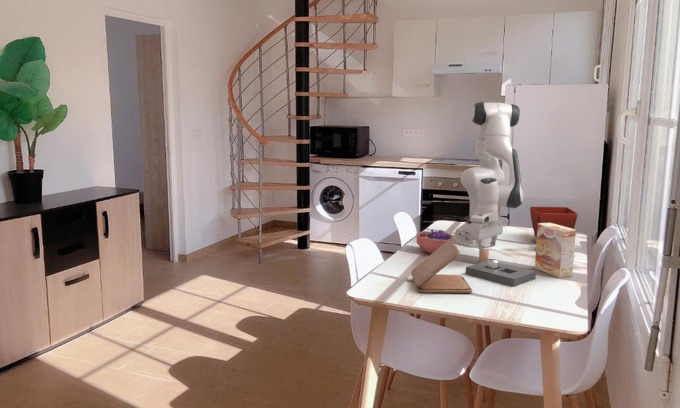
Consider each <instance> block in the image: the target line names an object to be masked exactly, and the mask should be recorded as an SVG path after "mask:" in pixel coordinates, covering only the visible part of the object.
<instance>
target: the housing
mask: <svg viewBox="0 0 680 408" xmlns="http://www.w3.org/2000/svg"><path fill="white" fill-rule="evenodd" d="M465 275H468V276H471V277H476V278H480V279H483V280H486V281H487V280H488V281H491V282H494V283H498V284H502V285H505V286H509V287H517V286H520V285H521V284H525V283H527V282H531V281H533V280H536V275H537V271H536V270H533V269H532V270H531V269H527V268H525V267H523V268H522V267H518V266H514V265H511V264H510V265H509V264H506V263H502V262H498V269H496V270H493V269H489V268H488V260H487V261H484V262H481V263H479V262H478V263H475V264H471V265H468V266H465Z"/></svg>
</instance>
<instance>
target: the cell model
mask: <svg viewBox="0 0 680 408" xmlns="http://www.w3.org/2000/svg"><path fill="white" fill-rule="evenodd" d="M415 235H416V237H415V238H416V244H417V245H418V247H419V248H420V249H421V250H422V251H425V252H427V253H429V254H432V253H433V252H434V251H436V250H437V249H438V248H439V247H440V246H441V245H443V244H444V243H445V242H447V241H451V242H452V243H453V244H454V239H455V237H456V236H454V235H455V234H454V235H453V234H452V233H449V232H446V231H445V230H442V229H439V230H438V231H434V229H431V230H430V231H426V230H424V231H421V232H417V233H415Z"/></svg>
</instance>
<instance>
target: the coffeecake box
mask: <svg viewBox="0 0 680 408" xmlns="http://www.w3.org/2000/svg"><path fill="white" fill-rule="evenodd" d="M576 233H577V230H576V229H575V228H574V229H571V228H568V227H564V226H561V225H557V224H553V223H538V227H537V239H536V241H535V242H536V243H535V244H536V245H535V257H534V258H535V259H534V269H536V270H538V271H541V272H544V273H546V274H548V275H551V276H554V277H556V278H560V279H561V278H569V277H573V273H574V261H575V246H576V244H575V243H576Z"/></svg>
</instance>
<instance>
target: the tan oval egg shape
mask: <svg viewBox="0 0 680 408" xmlns="http://www.w3.org/2000/svg"><path fill="white" fill-rule="evenodd" d="M478 250H479V251H478V252H479V253H478V263H481V262H484V261H487V260H488V259H489V257H490V256H489V255H490V254H489V252H490V250H489V249H488V248H483V249H481V250H480V249H478Z"/></svg>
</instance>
